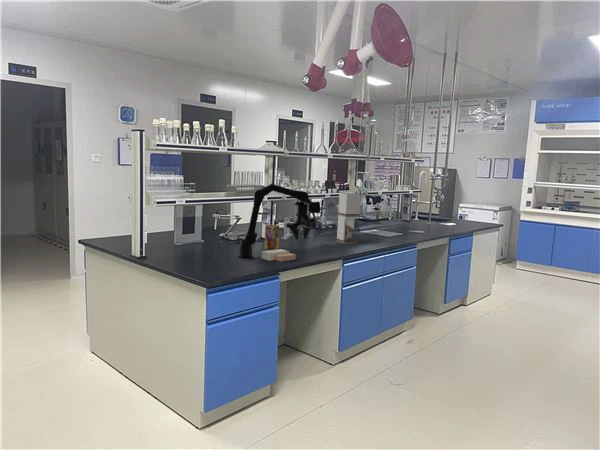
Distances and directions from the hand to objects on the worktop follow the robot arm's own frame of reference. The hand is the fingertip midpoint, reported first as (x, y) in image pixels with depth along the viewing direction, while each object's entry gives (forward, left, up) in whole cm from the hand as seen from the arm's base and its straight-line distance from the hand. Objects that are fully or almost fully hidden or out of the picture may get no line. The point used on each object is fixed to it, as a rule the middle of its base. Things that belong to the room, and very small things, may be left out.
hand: (300, 239), depth 259 cm
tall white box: (+66, +23, -11) cm, 71 cm away
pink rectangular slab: (-12, 0, -11) cm, 16 cm away
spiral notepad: (-13, +7, -11) cm, 18 cm away
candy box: (+3, +31, -11) cm, 33 cm away
